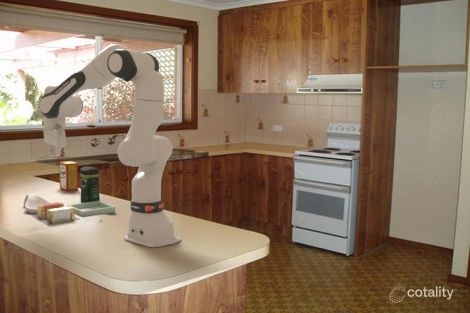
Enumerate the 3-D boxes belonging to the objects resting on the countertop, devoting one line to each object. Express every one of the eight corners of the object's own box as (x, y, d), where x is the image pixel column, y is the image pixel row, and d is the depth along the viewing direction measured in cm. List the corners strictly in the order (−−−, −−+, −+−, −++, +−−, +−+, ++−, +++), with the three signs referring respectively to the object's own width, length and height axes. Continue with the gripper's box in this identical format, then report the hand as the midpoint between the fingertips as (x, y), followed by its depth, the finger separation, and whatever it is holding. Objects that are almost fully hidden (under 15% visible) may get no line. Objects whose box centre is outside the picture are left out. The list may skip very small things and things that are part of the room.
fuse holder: (80, 221, 204) (80, 207, 203) (47, 227, 195) (47, 212, 194) (62, 213, 218) (62, 200, 217) (31, 217, 209) (30, 204, 208)
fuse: (63, 214, 212) (63, 203, 211) (41, 217, 205) (40, 206, 205) (60, 212, 215) (60, 201, 214) (37, 216, 208) (37, 204, 207)
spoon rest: (56, 214, 217) (56, 198, 216) (29, 218, 209) (29, 202, 208) (40, 204, 235) (39, 190, 234) (15, 207, 228) (14, 193, 227)
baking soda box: (78, 190, 271) (77, 162, 269) (67, 191, 267) (66, 163, 265) (70, 187, 278) (70, 160, 276) (59, 188, 274) (59, 161, 272)
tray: (115, 213, 220) (115, 206, 220) (82, 218, 209) (82, 211, 209) (99, 206, 232) (99, 200, 231) (67, 211, 221) (67, 205, 221)
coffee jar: (102, 203, 239) (101, 167, 237) (88, 206, 233) (87, 168, 231) (92, 200, 245) (91, 164, 243) (78, 202, 239) (77, 166, 237)
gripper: (69, 125, 198) (69, 158, 200) (55, 121, 215) (55, 151, 217) (54, 125, 195) (54, 158, 197) (40, 121, 211) (41, 152, 213)
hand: (54, 155), depth 207 cm, fingers open, 8 cm apart
